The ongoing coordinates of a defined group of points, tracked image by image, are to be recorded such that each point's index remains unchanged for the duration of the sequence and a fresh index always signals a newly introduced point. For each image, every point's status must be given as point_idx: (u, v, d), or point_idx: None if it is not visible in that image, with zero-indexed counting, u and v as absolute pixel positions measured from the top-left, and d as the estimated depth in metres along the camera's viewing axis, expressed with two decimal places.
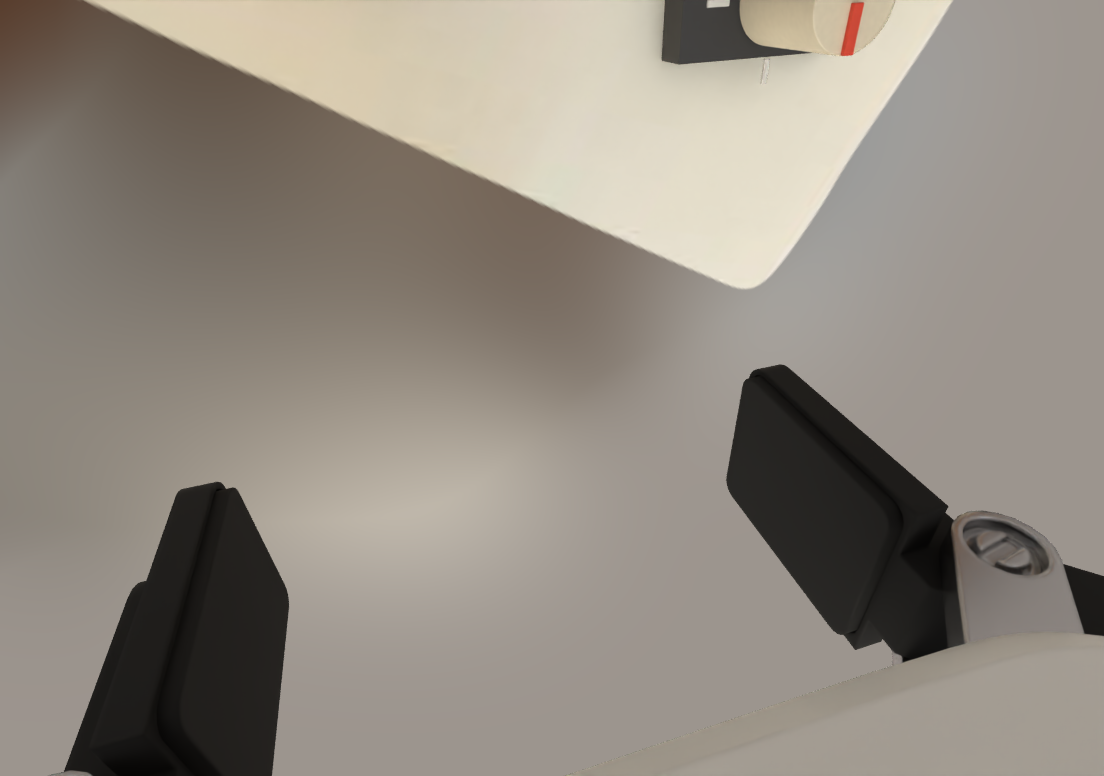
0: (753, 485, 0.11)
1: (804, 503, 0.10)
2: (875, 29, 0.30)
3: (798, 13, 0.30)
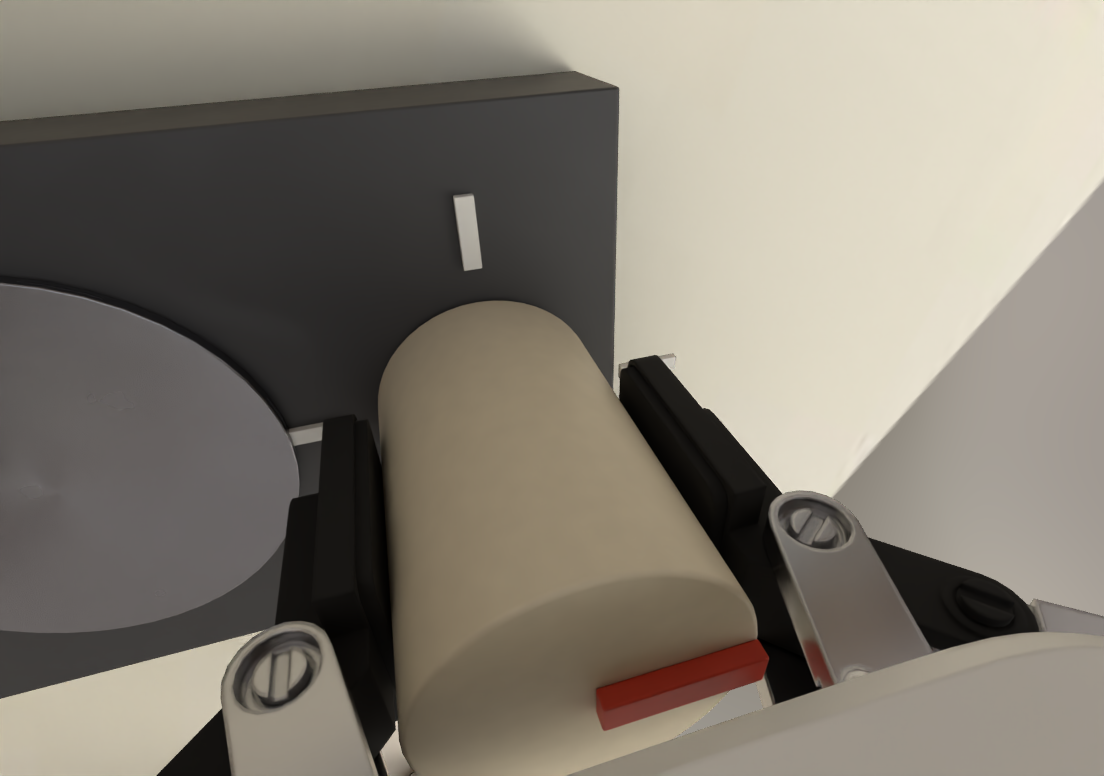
0: None
1: None
2: (693, 602, 0.07)
3: None
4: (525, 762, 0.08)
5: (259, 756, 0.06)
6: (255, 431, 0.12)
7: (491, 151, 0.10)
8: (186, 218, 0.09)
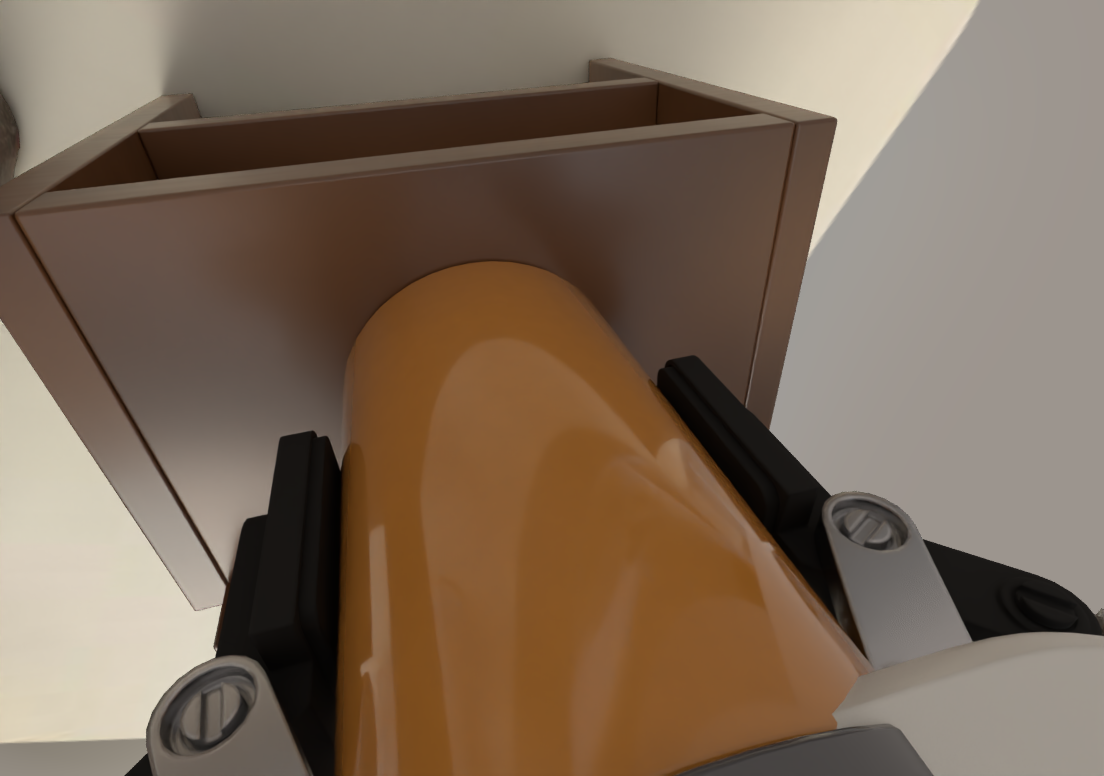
0: None
1: None
2: None
3: None
4: None
5: None
6: None
7: None
8: None
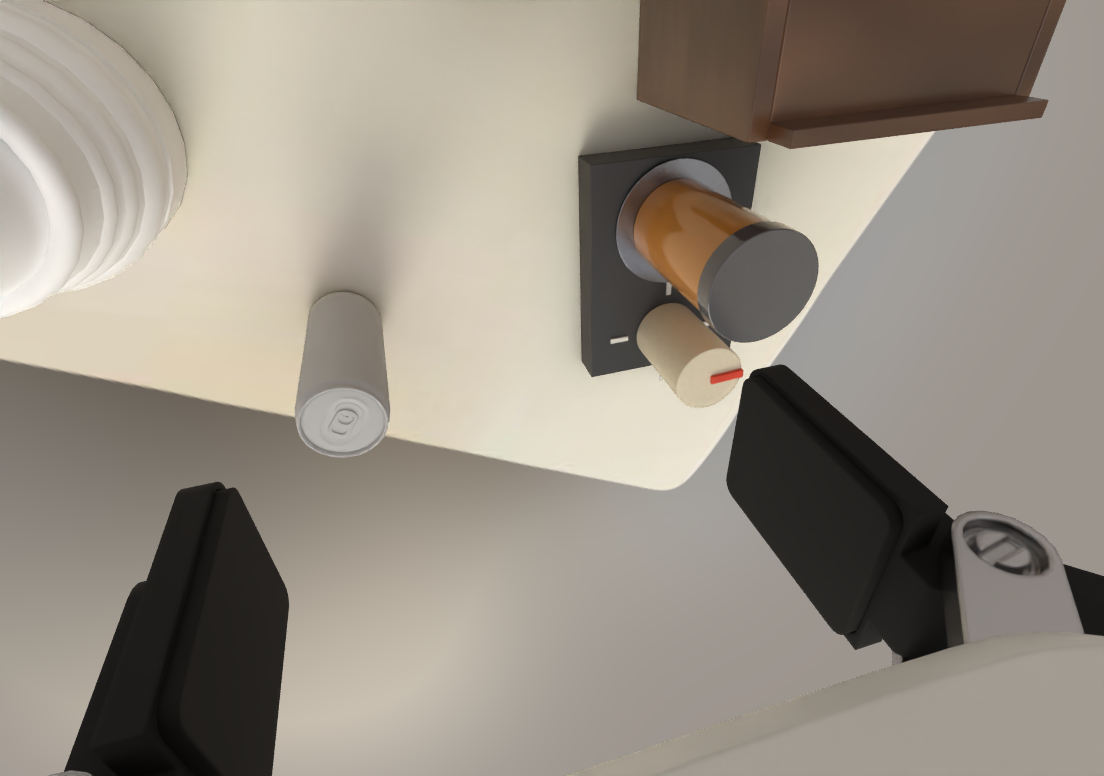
0: (753, 485, 0.11)
1: (804, 503, 0.10)
2: (728, 355, 0.39)
3: None
4: (695, 395, 0.40)
5: None
6: None
7: None
8: None
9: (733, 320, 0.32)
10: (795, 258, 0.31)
